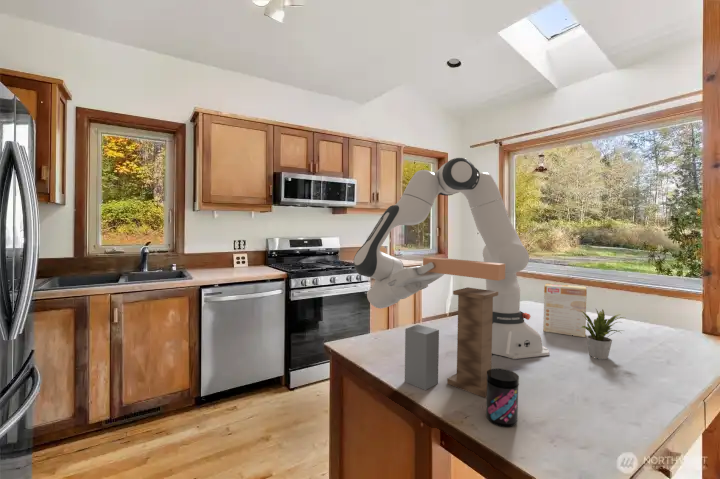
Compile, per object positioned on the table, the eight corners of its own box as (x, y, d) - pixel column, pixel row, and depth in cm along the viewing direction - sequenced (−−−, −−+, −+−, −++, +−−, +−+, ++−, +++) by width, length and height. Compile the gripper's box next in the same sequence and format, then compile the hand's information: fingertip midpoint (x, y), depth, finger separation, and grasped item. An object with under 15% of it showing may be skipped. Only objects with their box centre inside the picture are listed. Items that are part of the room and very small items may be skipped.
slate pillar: (404, 381, 99) (405, 328, 98) (417, 375, 103) (418, 324, 102) (425, 390, 94) (426, 334, 93) (438, 383, 98) (438, 329, 97)
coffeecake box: (585, 333, 145) (586, 286, 144) (585, 337, 139) (587, 288, 138) (544, 327, 153) (545, 282, 153) (542, 331, 147) (544, 285, 147)
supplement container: (479, 418, 80) (480, 373, 80) (494, 408, 84) (495, 366, 84) (509, 432, 75) (510, 384, 74) (523, 420, 79) (524, 375, 79)
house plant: (637, 368, 110) (640, 316, 109) (588, 364, 112) (590, 313, 112) (614, 352, 124) (616, 306, 123) (571, 349, 126) (572, 303, 126)
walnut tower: (447, 383, 98) (448, 290, 97) (463, 374, 104) (465, 286, 103) (485, 397, 90) (487, 296, 89) (500, 386, 96) (502, 292, 95)
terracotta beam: (422, 271, 105) (423, 257, 105) (430, 270, 108) (430, 257, 108) (498, 280, 89) (498, 264, 89) (504, 279, 92) (505, 263, 92)
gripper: (380, 276, 106) (413, 256, 97) (420, 270, 121) (452, 252, 112) (388, 295, 104) (422, 277, 95) (428, 287, 119) (460, 270, 110)
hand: (438, 263), depth 104 cm, fingers closed on terracotta beam, 4 cm apart
